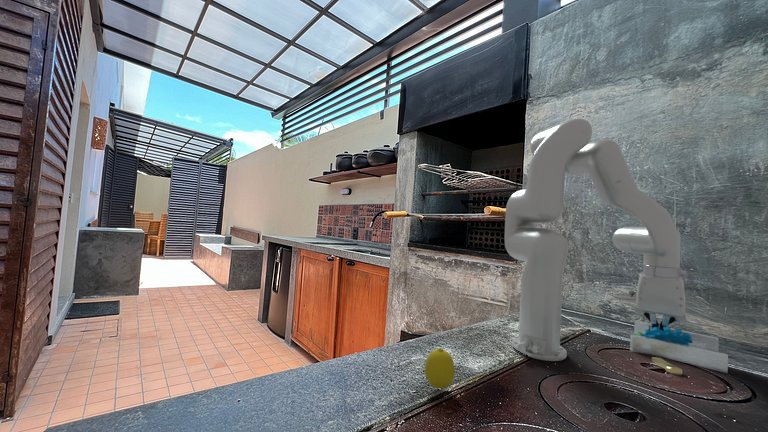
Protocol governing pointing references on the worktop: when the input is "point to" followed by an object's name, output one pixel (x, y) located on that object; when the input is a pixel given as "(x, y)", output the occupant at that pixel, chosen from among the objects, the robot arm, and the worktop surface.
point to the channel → (681, 348)
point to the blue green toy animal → (668, 335)
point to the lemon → (439, 368)
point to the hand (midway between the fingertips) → (658, 338)
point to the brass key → (667, 366)
